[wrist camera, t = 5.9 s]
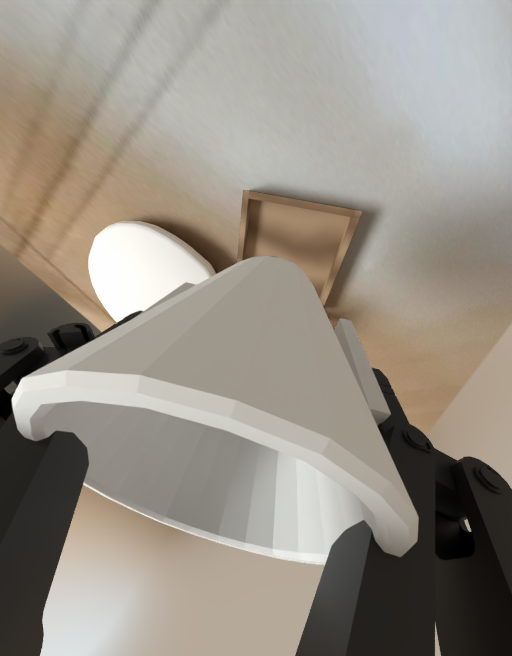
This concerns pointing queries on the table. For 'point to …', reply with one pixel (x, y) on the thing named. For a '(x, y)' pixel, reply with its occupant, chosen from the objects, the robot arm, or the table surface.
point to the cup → (229, 419)
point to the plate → (141, 266)
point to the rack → (297, 235)
